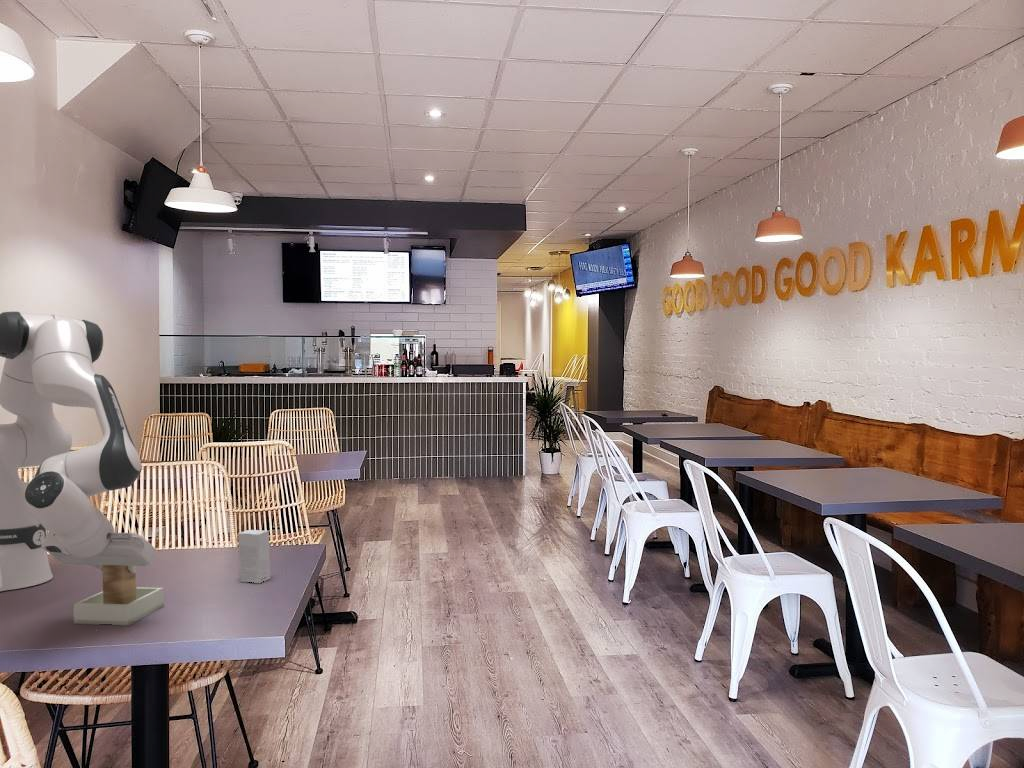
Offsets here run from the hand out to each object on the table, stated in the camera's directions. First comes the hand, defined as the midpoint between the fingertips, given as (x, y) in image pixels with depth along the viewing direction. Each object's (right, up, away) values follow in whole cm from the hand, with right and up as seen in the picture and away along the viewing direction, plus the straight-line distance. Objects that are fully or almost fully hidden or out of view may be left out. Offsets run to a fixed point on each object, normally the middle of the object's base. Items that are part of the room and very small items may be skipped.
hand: (120, 569), depth 156 cm
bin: (0, -9, 0) cm, 9 cm away
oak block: (0, -7, 0) cm, 7 cm away
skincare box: (+20, -9, +23) cm, 32 cm away
